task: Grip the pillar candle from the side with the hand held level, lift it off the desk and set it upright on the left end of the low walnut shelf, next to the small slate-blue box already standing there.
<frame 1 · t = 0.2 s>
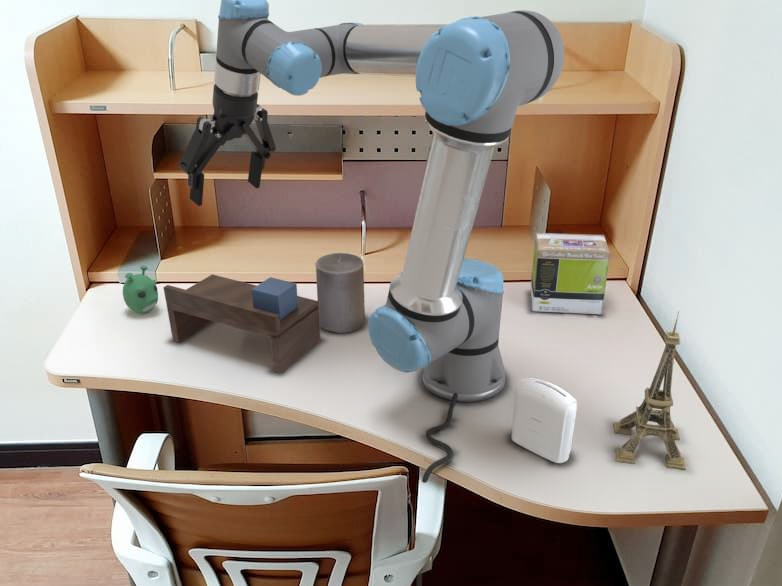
hand: (225, 193, 144), 28 cm above the table, tool tilted 20°, fingers open, 13 cm apart
tea box: (564, 304, 168), on the table
photo printer: (539, 449, 124), on the table
eiffel tower: (647, 446, 125), on the table
slate box: (276, 310, 144), point 9 cm above the table, touching shelf
alien toy: (145, 313, 162), on the table
shelf: (246, 341, 152), on the table
pillar candle: (341, 323, 159), on the table
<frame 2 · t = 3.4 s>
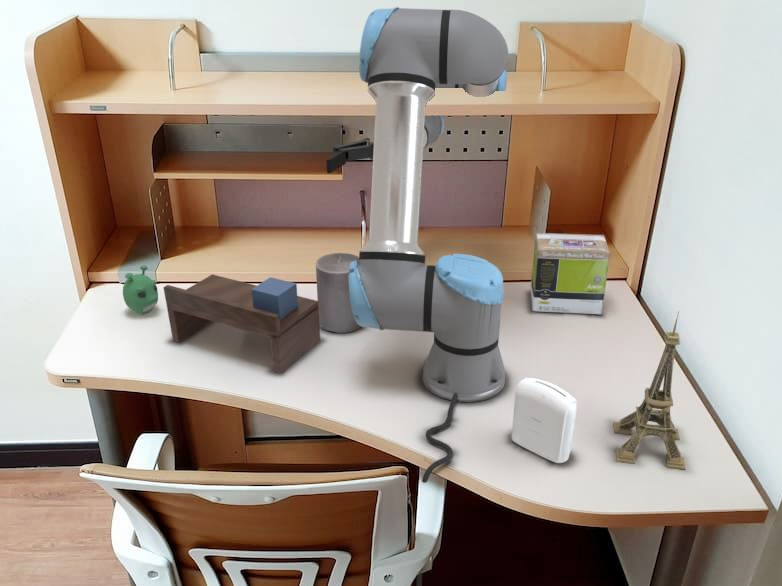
hand: (358, 171, 150), 30 cm above the table, tool horizontal, fingers open, 13 cm apart
nothing on the table moved.
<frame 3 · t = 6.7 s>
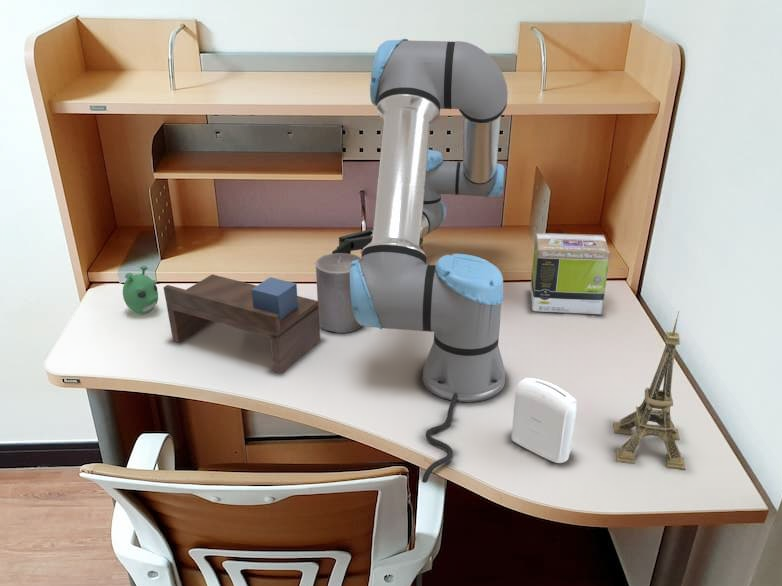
hand: (361, 264, 161), 10 cm above the table, tool horizontal, fingers open, 13 cm apart
nothing on the table moved.
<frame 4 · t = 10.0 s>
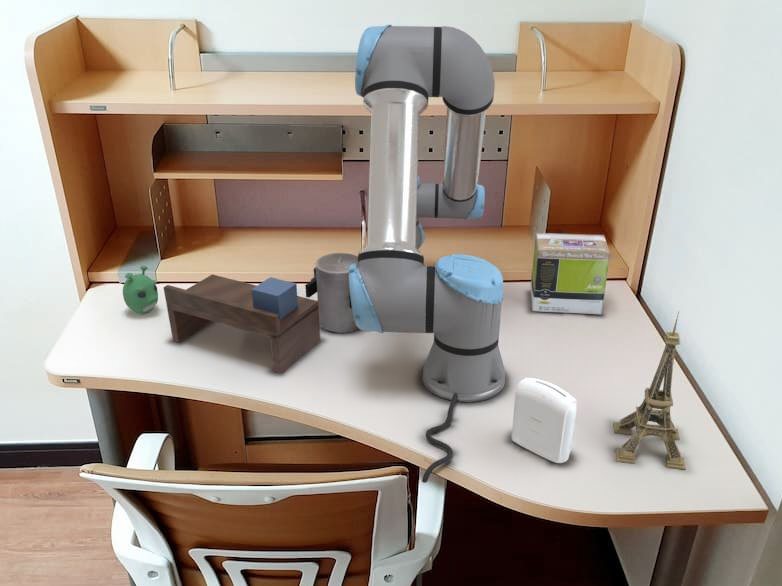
hand: (328, 296, 152), 8 cm above the table, tool horizontal, fingers closed on pillar candle, 10 cm apart
pillar candle: (341, 323, 159), on the table, touching gripper
everything else where it was.
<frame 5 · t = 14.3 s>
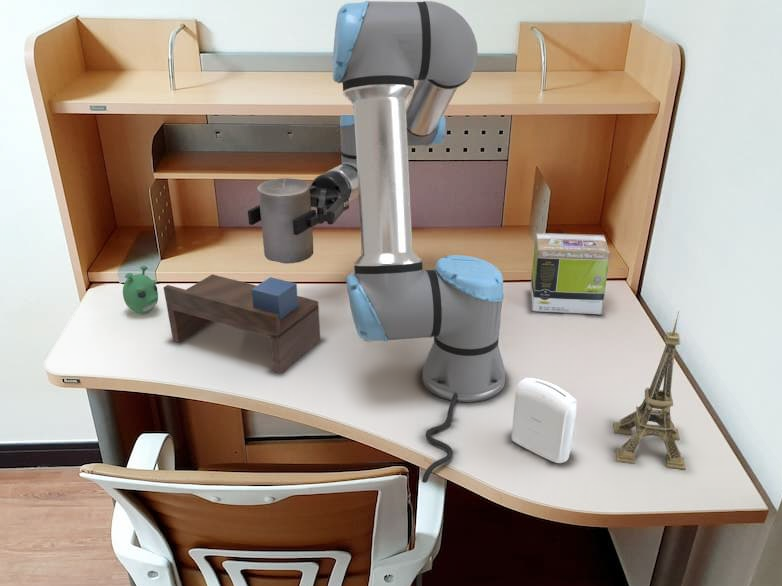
hand: (272, 222, 142), 24 cm above the table, tool horizontal, fingers closed on pillar candle, 10 cm apart
pillar candle: (288, 255, 149), point 16 cm above the table, touching gripper
everything else where it was.
when the fingers open (17 cm above the table, at t = 18.6 s): pillar candle stays where it is, resting on shelf.
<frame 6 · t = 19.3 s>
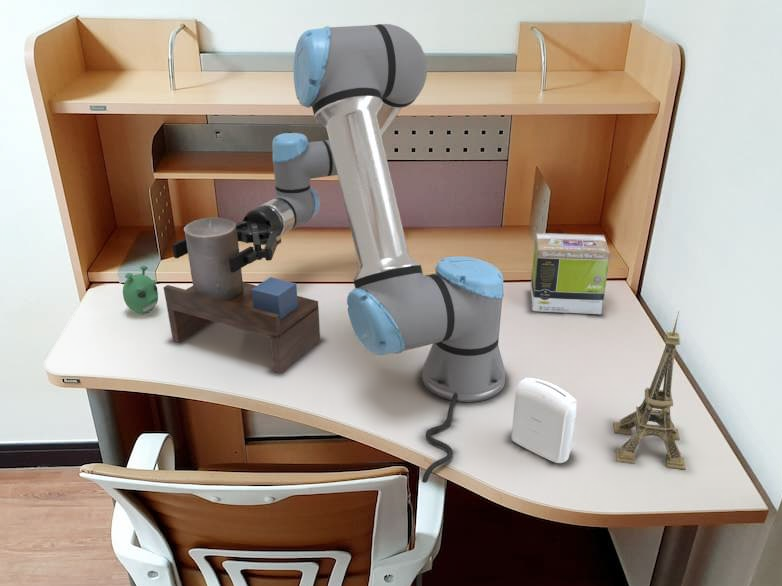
hand: (202, 258, 144), 17 cm above the table, tool horizontal, fingers open, 13 cm apart
pillar candle: (218, 292, 151), point 9 cm above the table, touching shelf
everything else where it was.
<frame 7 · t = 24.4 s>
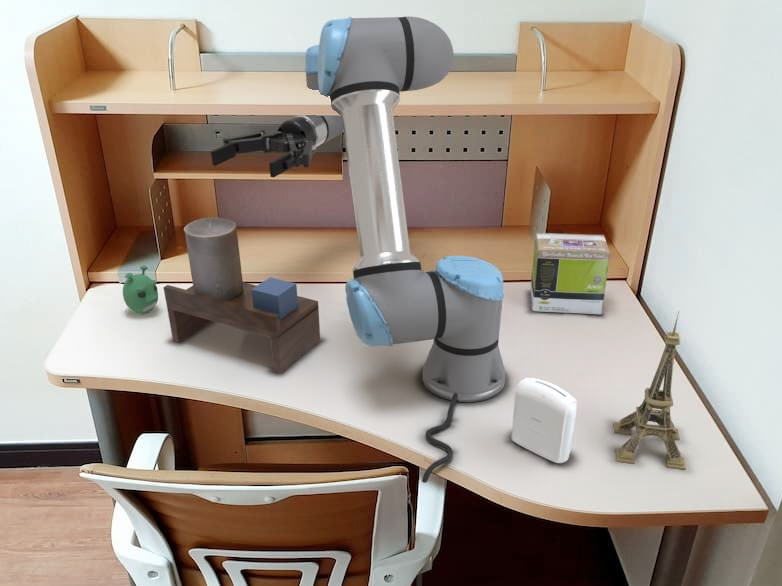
hand: (241, 164, 145), 32 cm above the table, tool horizontal, fingers open, 13 cm apart
nothing on the table moved.
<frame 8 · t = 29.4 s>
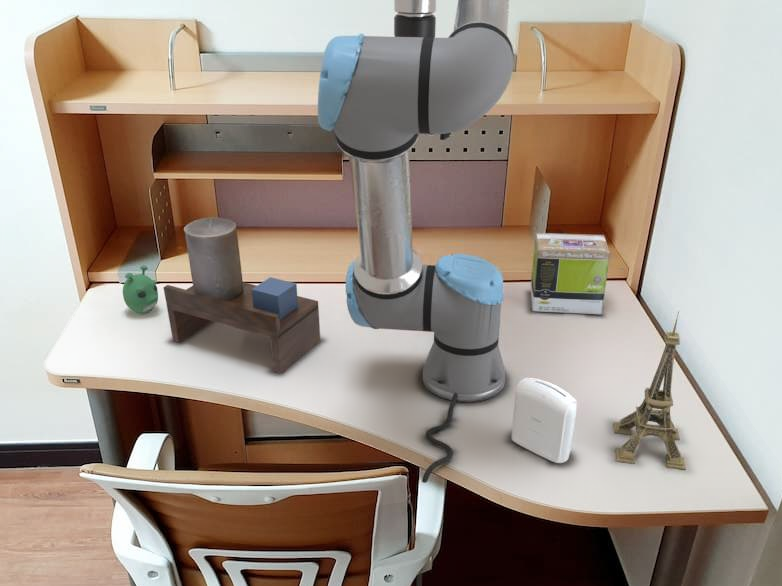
hand: (413, 133, 148), 37 cm above the table, tool pointing down, fingers open, 13 cm apart
nothing on the table moved.
at the end: pillar candle inside the target area (0.1 cm from its centre), point 8.8 cm above the table; pillar candle tilted 0°; pillar candle touching shelf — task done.
